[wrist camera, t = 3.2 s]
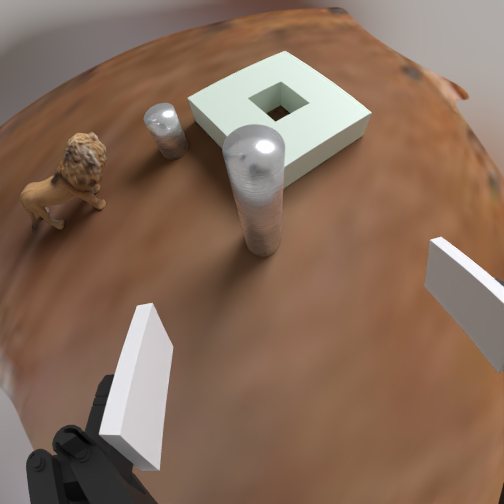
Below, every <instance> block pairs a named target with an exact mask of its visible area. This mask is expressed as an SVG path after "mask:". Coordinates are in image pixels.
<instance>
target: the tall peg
mask: <svg viewBox="0 0 504 504" xmlns="http://www.w3.org/2000/svg"><path fill="white" fill-rule="evenodd" d="M223 156H224V160H225V164H226V168H227V172H228V176H229V179H230V183H231V187H232V191H233V195H234V199H235V203H236V206H237V210H238V214H239V218H240V222H241V226H242V230H243V233H244V237H245V241H246V245H247V247H248V249H249V250H250V251H251V252H252V253H253V254H255V255H257V256H269V255H271V254H273V253H274V252H275V251H276V250H277V249H278V247H279V245H280V239H281V222H282V204H283V185H284V164H285V143H284V140H283V138H282V136H281V135H280V134H279V133H278V132H277V131H276V130H274V129H273V128H271V127H268V126H265V125H259V124H251V125H245V126H242V127H240V128H237V129H236V130H234V131H233V132H231V133H230V134H229V135H228V136H227V138H226V139H225V141H224V144H223Z"/></svg>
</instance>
